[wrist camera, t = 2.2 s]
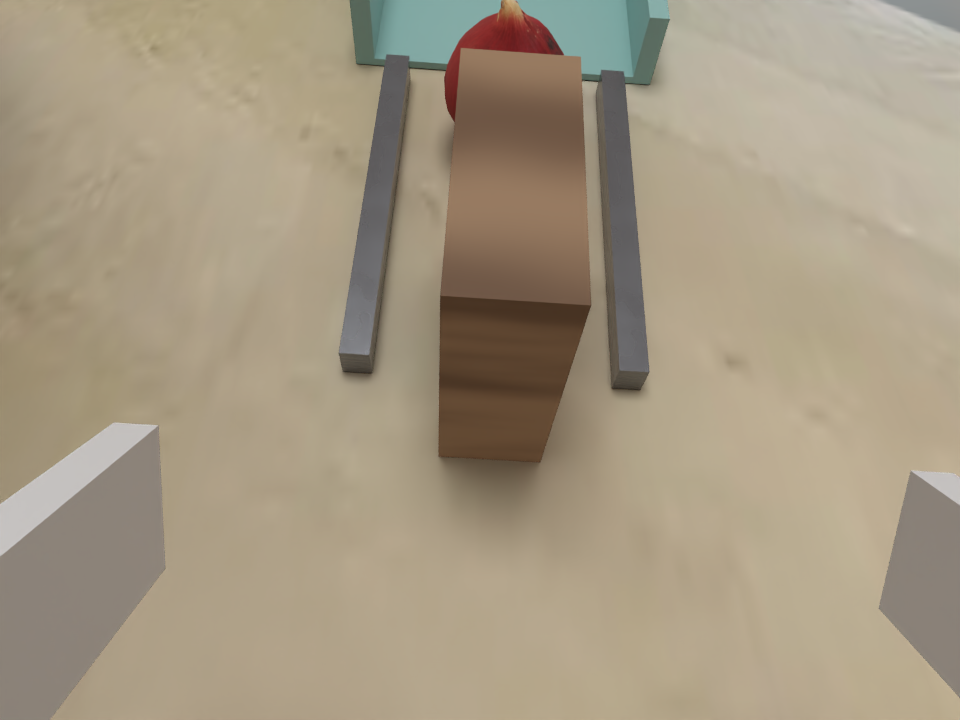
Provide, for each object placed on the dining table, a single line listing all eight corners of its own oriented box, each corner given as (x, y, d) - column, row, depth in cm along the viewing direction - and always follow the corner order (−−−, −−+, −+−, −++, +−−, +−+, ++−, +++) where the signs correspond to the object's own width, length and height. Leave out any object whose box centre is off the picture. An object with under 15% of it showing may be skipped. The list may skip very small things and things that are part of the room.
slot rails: (640, 389, 31) (649, 372, 30) (342, 371, 31) (338, 353, 29) (617, 94, 40) (624, 71, 39) (387, 78, 40) (386, 54, 38)
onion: (570, 123, 39) (599, -21, 32) (541, 202, 36) (566, 62, 29) (464, 95, 39) (470, -52, 32) (427, 170, 37) (426, 26, 30)
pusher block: (539, 462, 29) (590, 305, 20) (438, 456, 29) (440, 295, 20) (540, 260, 34) (580, 56, 25) (453, 254, 34) (460, 47, 25)
